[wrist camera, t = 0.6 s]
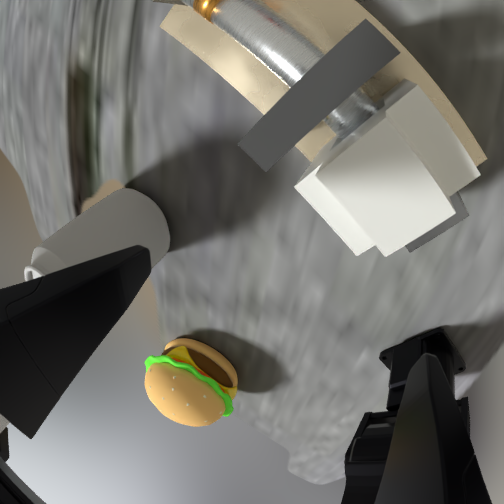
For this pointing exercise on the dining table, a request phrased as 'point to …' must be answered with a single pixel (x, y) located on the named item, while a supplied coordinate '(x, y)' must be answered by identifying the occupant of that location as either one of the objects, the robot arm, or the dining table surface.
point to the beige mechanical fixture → (304, 65)
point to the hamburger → (191, 383)
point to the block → (318, 93)
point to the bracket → (389, 174)
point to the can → (104, 233)
